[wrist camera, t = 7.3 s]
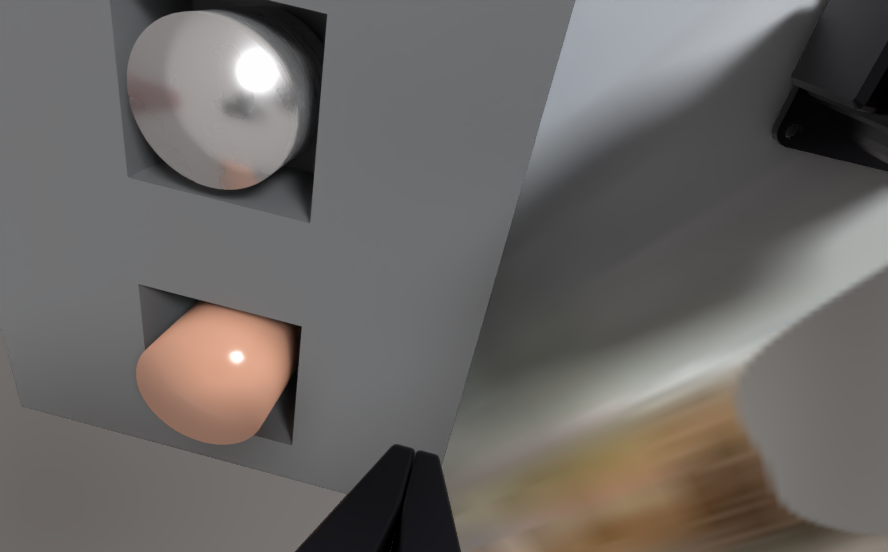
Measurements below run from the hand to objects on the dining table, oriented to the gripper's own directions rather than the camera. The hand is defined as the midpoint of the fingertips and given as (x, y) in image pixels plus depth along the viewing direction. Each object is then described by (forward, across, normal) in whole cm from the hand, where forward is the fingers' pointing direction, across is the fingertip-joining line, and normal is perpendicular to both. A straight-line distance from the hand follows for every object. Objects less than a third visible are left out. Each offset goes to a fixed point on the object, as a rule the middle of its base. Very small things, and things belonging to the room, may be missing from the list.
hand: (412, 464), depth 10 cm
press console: (+13, +8, +2) cm, 15 cm away
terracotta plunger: (+11, +8, +7) cm, 15 cm away
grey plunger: (+12, +8, -3) cm, 14 cm away
